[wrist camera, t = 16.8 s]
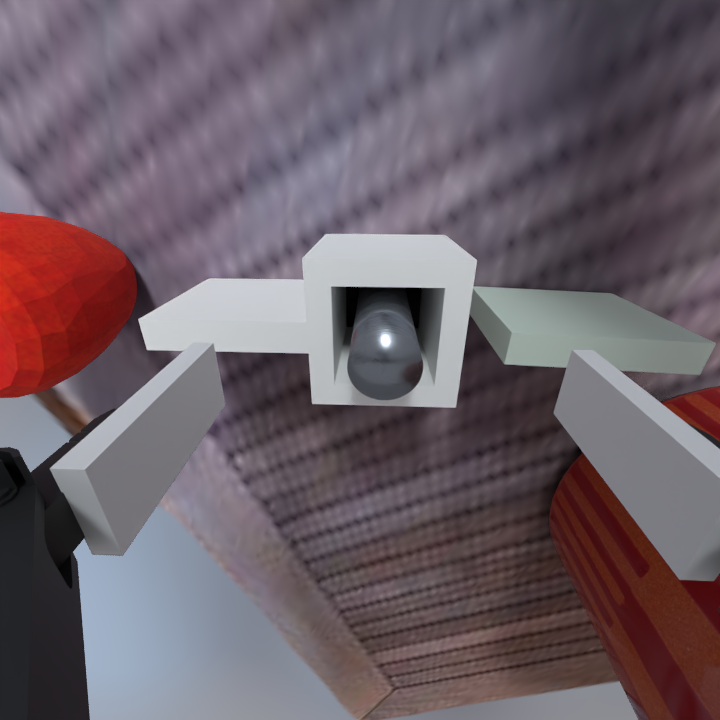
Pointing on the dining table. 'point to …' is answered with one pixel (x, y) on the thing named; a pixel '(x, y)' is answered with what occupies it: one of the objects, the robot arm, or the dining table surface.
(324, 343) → the fixed hinge
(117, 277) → the apple
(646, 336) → the loose leaf
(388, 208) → the dining table surface
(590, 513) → the planter
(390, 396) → the pin
